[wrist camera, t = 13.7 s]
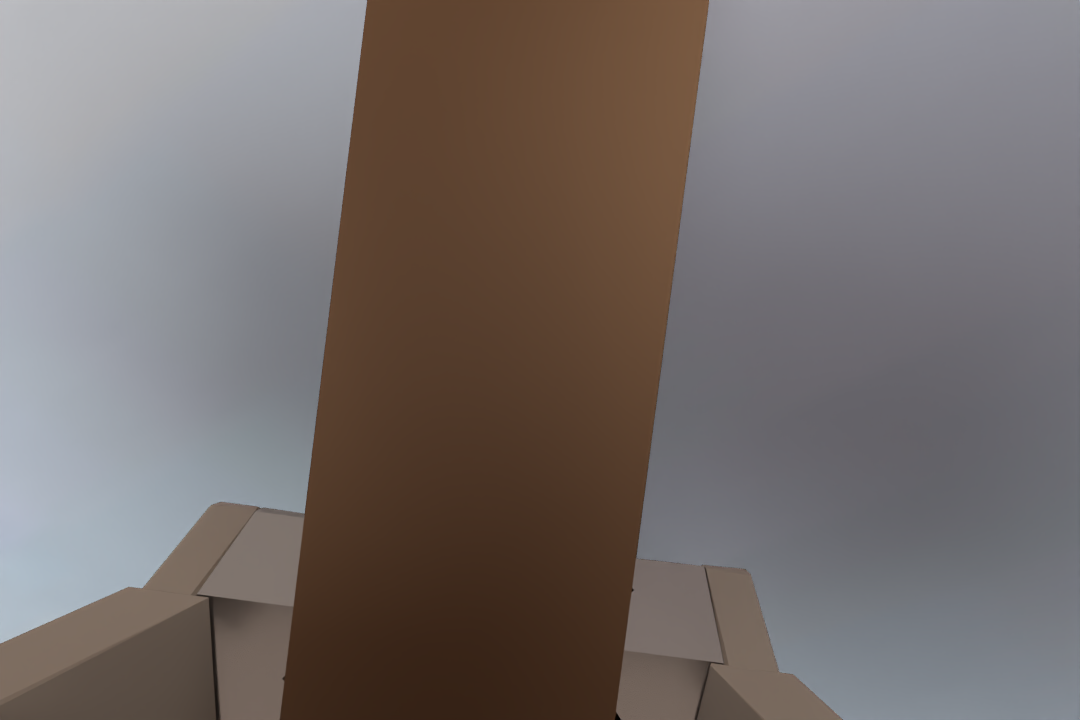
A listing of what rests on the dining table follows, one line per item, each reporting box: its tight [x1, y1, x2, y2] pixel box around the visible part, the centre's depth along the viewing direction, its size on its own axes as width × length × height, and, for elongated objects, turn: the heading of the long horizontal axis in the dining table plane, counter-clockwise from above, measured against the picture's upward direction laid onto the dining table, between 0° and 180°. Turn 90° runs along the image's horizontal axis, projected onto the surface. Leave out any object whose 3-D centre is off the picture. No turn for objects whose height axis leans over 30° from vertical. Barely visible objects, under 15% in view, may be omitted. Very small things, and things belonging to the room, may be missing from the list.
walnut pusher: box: [280, 0, 709, 720], centre depth 9 cm, size 6×22×4 cm, turn 174°
